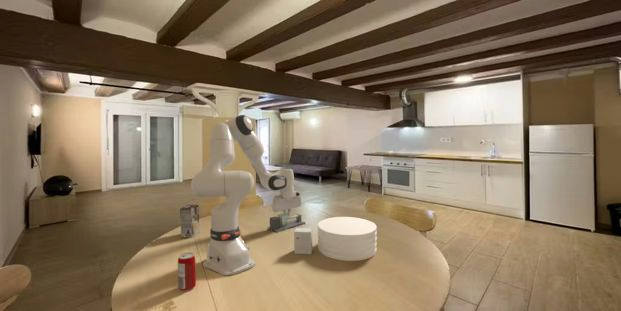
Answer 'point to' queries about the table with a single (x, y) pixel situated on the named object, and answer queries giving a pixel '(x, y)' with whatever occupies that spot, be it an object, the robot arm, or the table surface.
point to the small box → (303, 241)
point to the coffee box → (189, 220)
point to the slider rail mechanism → (277, 227)
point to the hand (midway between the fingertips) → (287, 216)
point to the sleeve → (283, 218)
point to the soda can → (186, 272)
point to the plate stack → (347, 238)
